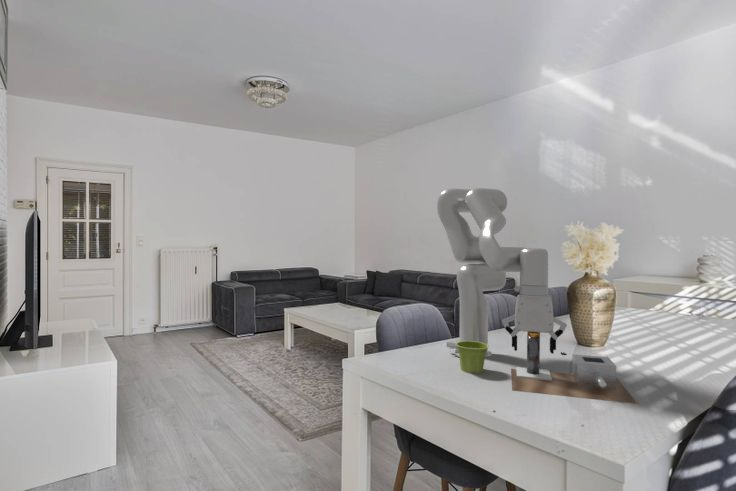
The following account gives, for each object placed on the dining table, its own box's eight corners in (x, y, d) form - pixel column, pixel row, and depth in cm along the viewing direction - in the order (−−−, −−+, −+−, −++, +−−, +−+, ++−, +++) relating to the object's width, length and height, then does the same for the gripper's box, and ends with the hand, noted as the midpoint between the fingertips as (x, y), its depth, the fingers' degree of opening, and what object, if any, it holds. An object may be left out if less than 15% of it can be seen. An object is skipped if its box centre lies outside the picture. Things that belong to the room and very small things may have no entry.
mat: (517, 377, 118) (517, 375, 118) (516, 368, 126) (516, 366, 126) (552, 380, 115) (552, 378, 115) (548, 371, 124) (548, 369, 124)
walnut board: (512, 395, 107) (512, 390, 107) (510, 372, 126) (510, 368, 126) (638, 408, 99) (638, 403, 99) (616, 382, 118) (616, 378, 118)
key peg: (527, 373, 120) (527, 331, 120) (526, 370, 123) (527, 329, 123) (539, 374, 119) (540, 332, 119) (539, 371, 122) (539, 330, 122)
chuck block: (582, 395, 104) (583, 371, 104) (572, 375, 120) (572, 354, 120) (624, 400, 101) (624, 375, 101) (607, 378, 117) (608, 357, 117)
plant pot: (489, 371, 128) (489, 342, 128) (487, 380, 119) (487, 349, 119) (457, 367, 131) (458, 339, 131) (453, 376, 122) (454, 346, 122)
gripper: (501, 291, 120) (501, 351, 120) (568, 293, 115) (568, 356, 115) (502, 288, 127) (501, 345, 127) (565, 291, 122) (564, 350, 122)
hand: (533, 351), depth 121 cm, fingers open, 9 cm apart
